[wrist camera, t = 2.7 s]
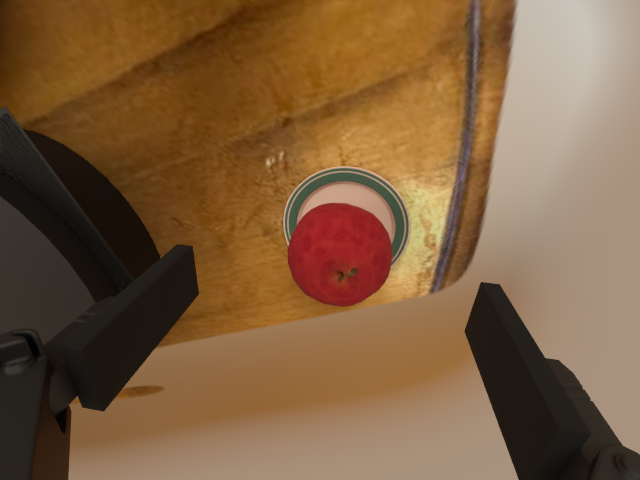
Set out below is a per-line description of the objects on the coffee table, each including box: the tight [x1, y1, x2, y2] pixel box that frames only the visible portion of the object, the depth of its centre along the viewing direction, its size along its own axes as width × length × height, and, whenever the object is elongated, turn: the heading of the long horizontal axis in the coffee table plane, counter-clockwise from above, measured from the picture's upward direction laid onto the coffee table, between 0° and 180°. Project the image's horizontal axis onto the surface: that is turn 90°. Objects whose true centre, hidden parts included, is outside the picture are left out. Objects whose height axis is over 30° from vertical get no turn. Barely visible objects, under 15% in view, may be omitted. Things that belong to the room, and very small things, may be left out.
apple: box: [283, 166, 410, 306], centre depth 18 cm, size 8×8×6 cm
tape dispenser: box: [0, 106, 160, 345], centre depth 22 cm, size 14×18×8 cm
